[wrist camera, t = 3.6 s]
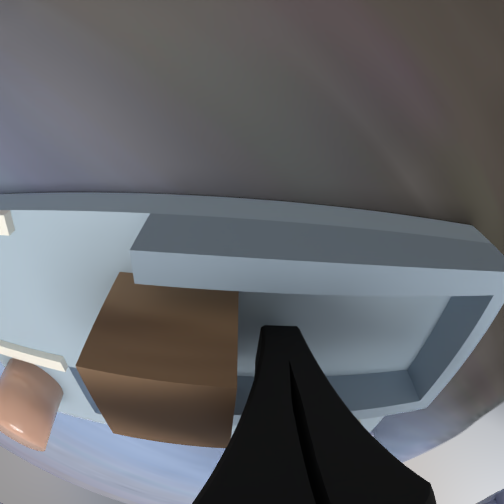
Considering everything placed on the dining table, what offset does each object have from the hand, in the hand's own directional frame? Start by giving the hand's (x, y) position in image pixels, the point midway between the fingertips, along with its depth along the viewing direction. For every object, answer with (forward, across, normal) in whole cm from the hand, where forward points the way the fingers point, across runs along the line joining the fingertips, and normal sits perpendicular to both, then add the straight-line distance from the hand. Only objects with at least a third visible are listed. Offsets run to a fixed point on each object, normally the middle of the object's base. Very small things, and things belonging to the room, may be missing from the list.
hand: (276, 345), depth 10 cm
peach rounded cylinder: (+1, +13, +7) cm, 15 cm away
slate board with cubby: (+2, +4, +3) cm, 5 cm away
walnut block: (+1, +3, 0) cm, 4 cm away
